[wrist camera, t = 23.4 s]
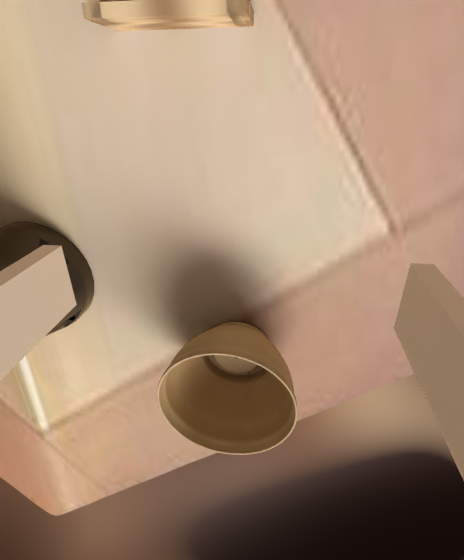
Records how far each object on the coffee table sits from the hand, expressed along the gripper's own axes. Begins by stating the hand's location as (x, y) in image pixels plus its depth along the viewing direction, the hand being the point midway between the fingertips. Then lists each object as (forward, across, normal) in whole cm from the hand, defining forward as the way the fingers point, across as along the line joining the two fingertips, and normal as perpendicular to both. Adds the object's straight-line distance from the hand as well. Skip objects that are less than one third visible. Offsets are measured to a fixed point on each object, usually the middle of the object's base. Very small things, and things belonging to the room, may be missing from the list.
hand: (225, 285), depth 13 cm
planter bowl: (+27, -3, -25) cm, 37 cm away
